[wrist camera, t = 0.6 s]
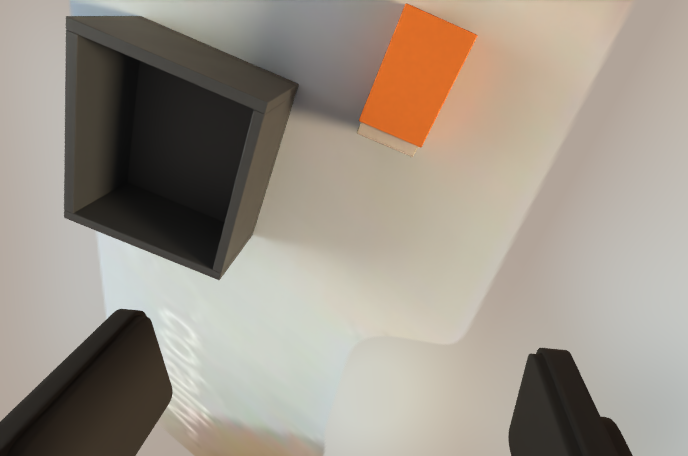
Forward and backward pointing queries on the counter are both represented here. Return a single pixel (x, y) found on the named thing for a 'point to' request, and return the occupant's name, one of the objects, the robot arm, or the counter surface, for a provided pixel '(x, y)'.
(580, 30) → the counter surface
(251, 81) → the trash bin
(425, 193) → the counter surface
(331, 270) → the counter surface
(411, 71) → the block
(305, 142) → the counter surface
